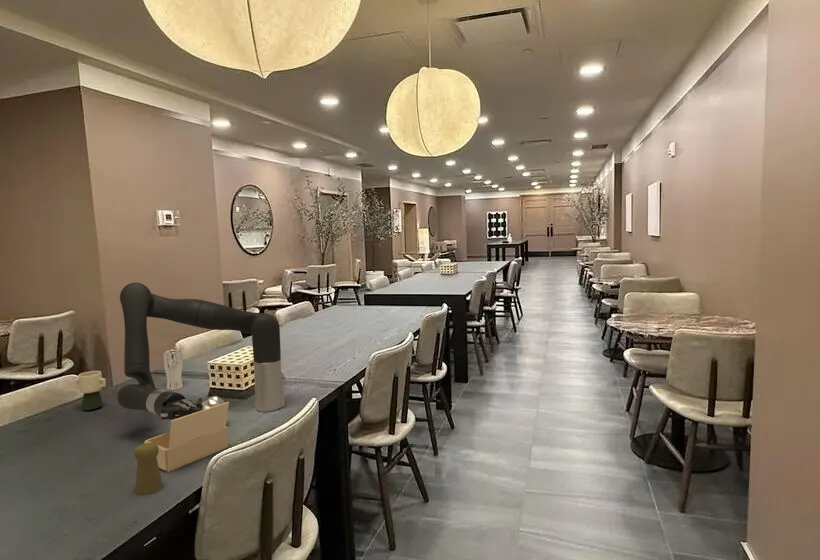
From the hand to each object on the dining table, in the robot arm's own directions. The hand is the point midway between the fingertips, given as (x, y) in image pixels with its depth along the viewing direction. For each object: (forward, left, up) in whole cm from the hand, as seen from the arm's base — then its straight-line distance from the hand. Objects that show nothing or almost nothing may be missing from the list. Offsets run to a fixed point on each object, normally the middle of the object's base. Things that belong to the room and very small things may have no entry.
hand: (200, 413), depth 136 cm
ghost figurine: (-9, -24, -13) cm, 29 cm away
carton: (+2, -7, -13) cm, 15 cm away
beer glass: (-8, -78, -13) cm, 80 cm away
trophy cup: (+21, -69, -13) cm, 74 cm away
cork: (+14, +8, -13) cm, 21 cm away
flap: (0, -2, -7) cm, 7 cm away
